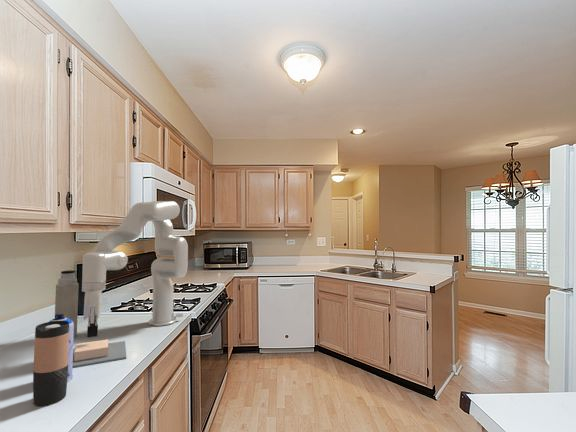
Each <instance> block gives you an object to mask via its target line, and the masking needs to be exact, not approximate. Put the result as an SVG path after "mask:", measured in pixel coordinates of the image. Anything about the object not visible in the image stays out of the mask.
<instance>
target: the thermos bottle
mask: <svg viewBox="0 0 576 432" xmlns="http://www.w3.org/2000/svg"><path fill="white" fill-rule="evenodd" d="M75 275H76V271H75V270H72V269H71V270H70V269H69V270H63V271H62V270H61V272H60V278H58V279H57V284H56V285H55V297H54V298H55V302H54V315H55V314H64V317H66V318H69V319H70V320H71V321H73V324H74V336H73V338H76V337H77V335H78V317H79V315H78V313H79V312H78V311H79V308H78V307H79V282H78V278H77V277H75Z"/></svg>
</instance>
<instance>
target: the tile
mask: <svg viewBox="0 0 576 432" xmlns="http://www.w3.org/2000/svg"><path fill="white" fill-rule="evenodd" d="M108 343H109V339H108V338H107V339H101V340H95V341H88V342H80V343H77V344H76V346H75V348H76V349H75V355H74V361H81V360H87V359H93V358H99V357H105V356H108Z"/></svg>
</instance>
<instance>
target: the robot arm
mask: <svg viewBox="0 0 576 432" xmlns="http://www.w3.org/2000/svg"><path fill="white" fill-rule="evenodd" d="M180 210H181V209H180V205H179V204H178V203H177V202H176V201H174V200H158V201H157V200H155V201H148V202H145V201H144V202H136V203H134V204H133V205H132V207H130V210H129V212H128V213H127V214H126V216H125V218H124V219H123V220H122V222H121V223H120V225H119V226H118V227H117V228H115V229H114V230H112V231H110V232H109V233H107V234H106V235H105V236H104V237H102V238H100V239H99V241H98V242H97V243H96V245H95V246H94V247H93V249H92V250H91V252H87V253H85V254H84V255H83V256H82V273H81V274H82V275H81V276H82V279H81V292H84V299H83V300H84V301H83V317H82V319H83V320H84V321H85V320H87V322H88V323H87V324H88V325H87V326H86V327H87V329H86V330H87V333H86V337H87V338H94V337H95V338H96V337H98V335H99V334H98V333H99V324H98V319H99V318H100V315H101V309H102V296H103V295H102V294H103V291H105V290H106V288H107V287H106V285H107V284H106V283H107V271H120V270H122V269H124V268H125V267H126V265H128V261H129V258H128V256H127V254H126V253H125V252H123V251H120V250H114V249H116V248H117V247H118V246H120V245H123V244H125V243H129V242H131V241H134V240H136V239H137V238H138V237H140V235H141V233H142V231H143V229H144V228H145V226H146V224H147V223H148V222H152V224H153V226H154V250H155V253H156V254H157V255H158V256H159V255H160V256H171V257H160V258H156V259H155V260H153V262H152V263H151V267H150V271H151V276H152V277H151V278H152V310H151V311H152V313H151V315H152V318H151V319H149V320H148V325H150V326H154V327H162V326H169V325H172V324H174V323H176V322H177V318H183V316H184V313H183V312H175V311H174V282H173V280H172V279H181V278H184V277H185V276H186V274H187V272H188V265H189V261H188V260H189V258H188V257H189V255H188V254H189V245H188V242H187V240H186V238H185V237H182V236H178V235H177V236H174V226H173V222H172V220H174V219H176V218H178V216H179V214H180V212H181V211H180ZM172 256H173V257H172Z"/></svg>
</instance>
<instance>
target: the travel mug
mask: <svg viewBox="0 0 576 432" xmlns="http://www.w3.org/2000/svg"><path fill="white" fill-rule="evenodd" d="M33 348H34V350H33V367H32V368H33V369H32V370H33V371H32V373H33V374H32V377H33V379H32V381H33V382H32V386H33V387H32V390H33V391H32V393H33V394H32V397H33V398H32V399H33V401H32V402H33V403H32V404H33V405H34V406H36V407H45V406H46V407H47V406H50V405H54V404H57V403H59V402H60V401H61V402H62V400H64V399H65V398H66V396H67V388H68V387H67V386H68V382H67V376H68V358H69V322H68V321H52V322H49V321H47V322H43V323H40V324H37V325H36V326H35V331H34V347H33Z"/></svg>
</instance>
